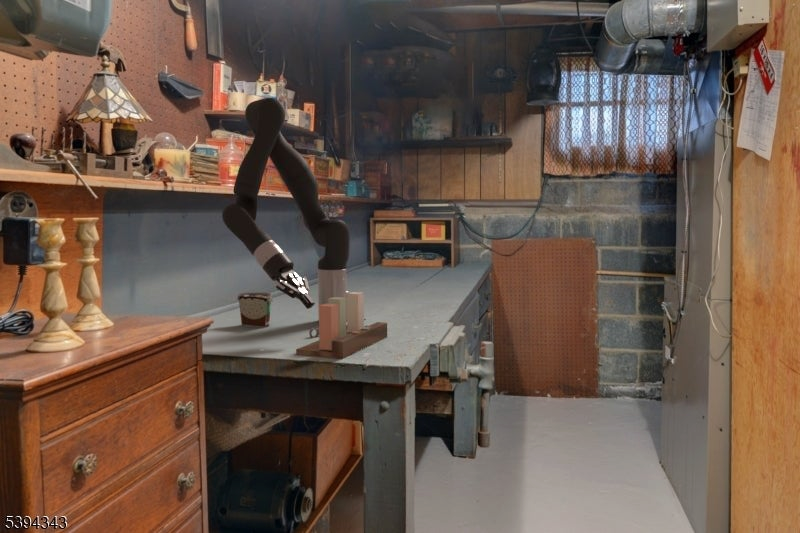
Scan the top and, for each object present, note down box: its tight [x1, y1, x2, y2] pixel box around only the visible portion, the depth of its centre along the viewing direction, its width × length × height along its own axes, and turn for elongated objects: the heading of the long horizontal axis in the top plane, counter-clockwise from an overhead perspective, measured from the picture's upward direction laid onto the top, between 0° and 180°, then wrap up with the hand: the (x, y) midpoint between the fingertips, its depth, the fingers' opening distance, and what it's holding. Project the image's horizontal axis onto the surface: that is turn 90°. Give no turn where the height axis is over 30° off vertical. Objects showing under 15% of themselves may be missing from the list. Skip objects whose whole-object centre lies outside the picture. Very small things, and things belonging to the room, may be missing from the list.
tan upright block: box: [346, 291, 365, 332], centre depth 171 cm, size 4×4×11 cm
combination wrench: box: [308, 318, 369, 338], centre depth 177 cm, size 4×1×20 cm
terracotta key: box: [318, 304, 338, 350], centre depth 150 cm, size 4×4×11 cm
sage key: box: [328, 297, 347, 338], centre depth 161 cm, size 4×4×11 cm
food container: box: [236, 291, 274, 328], centre depth 190 cm, size 12×6×10 cm, turn 65°
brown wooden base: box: [295, 321, 388, 359], centre depth 161 cm, size 13×27×4 cm, turn 158°
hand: (311, 306), depth 164 cm, fingers closed
